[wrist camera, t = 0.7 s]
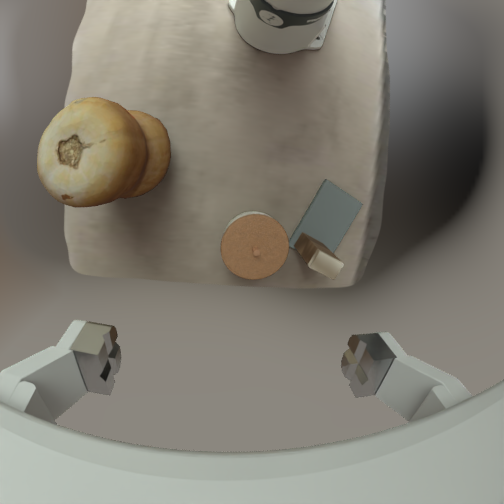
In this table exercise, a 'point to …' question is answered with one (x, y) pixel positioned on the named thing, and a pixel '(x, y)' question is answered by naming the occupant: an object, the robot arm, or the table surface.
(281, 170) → the table surface
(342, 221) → the slate mat
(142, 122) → the butternut squash
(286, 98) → the table surface
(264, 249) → the lidded jar
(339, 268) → the brown and white block
